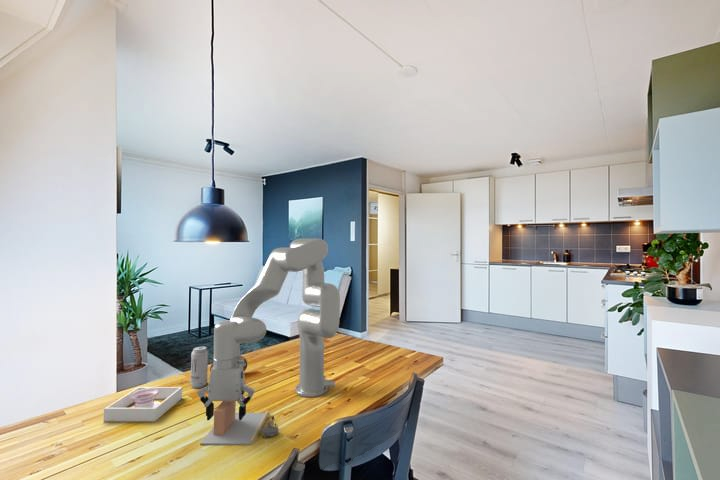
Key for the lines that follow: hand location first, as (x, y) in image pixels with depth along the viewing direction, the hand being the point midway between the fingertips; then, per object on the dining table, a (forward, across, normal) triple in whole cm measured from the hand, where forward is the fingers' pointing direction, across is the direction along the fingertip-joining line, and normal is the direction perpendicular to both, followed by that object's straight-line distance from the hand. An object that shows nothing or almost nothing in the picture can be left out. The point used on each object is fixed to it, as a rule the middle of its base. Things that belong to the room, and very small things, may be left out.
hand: (226, 417), depth 99 cm
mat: (+3, -3, 0) cm, 4 cm away
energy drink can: (+3, +23, -31) cm, 39 cm away
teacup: (+3, +32, -10) cm, 34 cm away
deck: (+3, 0, 0) cm, 3 cm away
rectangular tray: (+3, +32, -12) cm, 34 cm away
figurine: (+3, -15, +4) cm, 16 cm away
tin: (+4, +15, -41) cm, 44 cm away
